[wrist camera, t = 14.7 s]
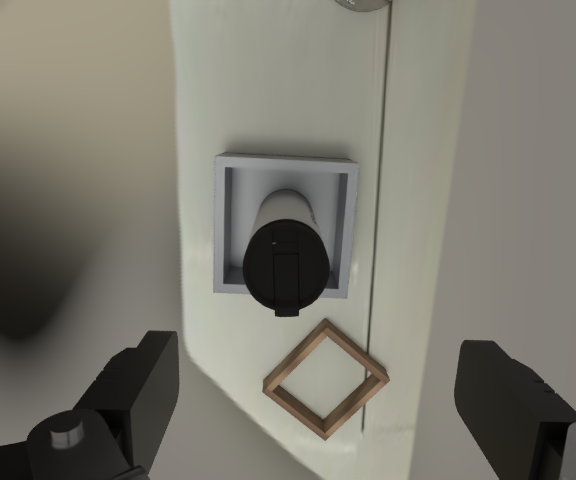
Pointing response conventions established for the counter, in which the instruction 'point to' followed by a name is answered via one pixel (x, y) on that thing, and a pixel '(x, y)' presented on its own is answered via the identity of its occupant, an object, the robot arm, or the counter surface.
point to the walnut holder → (349, 404)
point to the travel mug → (286, 255)
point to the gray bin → (265, 180)
